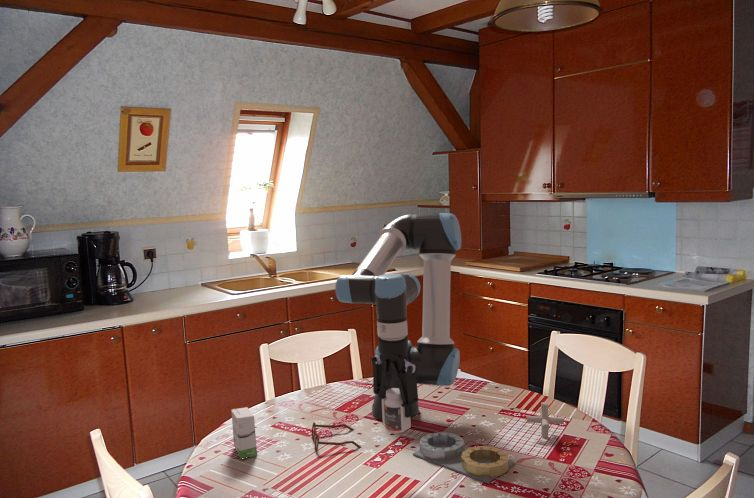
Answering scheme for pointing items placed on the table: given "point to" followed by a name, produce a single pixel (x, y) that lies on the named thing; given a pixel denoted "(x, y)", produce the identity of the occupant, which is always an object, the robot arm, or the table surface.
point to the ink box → (244, 432)
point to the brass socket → (484, 468)
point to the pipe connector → (544, 419)
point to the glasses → (329, 442)
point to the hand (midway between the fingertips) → (396, 425)
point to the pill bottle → (393, 410)
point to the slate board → (456, 463)
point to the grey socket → (441, 453)
